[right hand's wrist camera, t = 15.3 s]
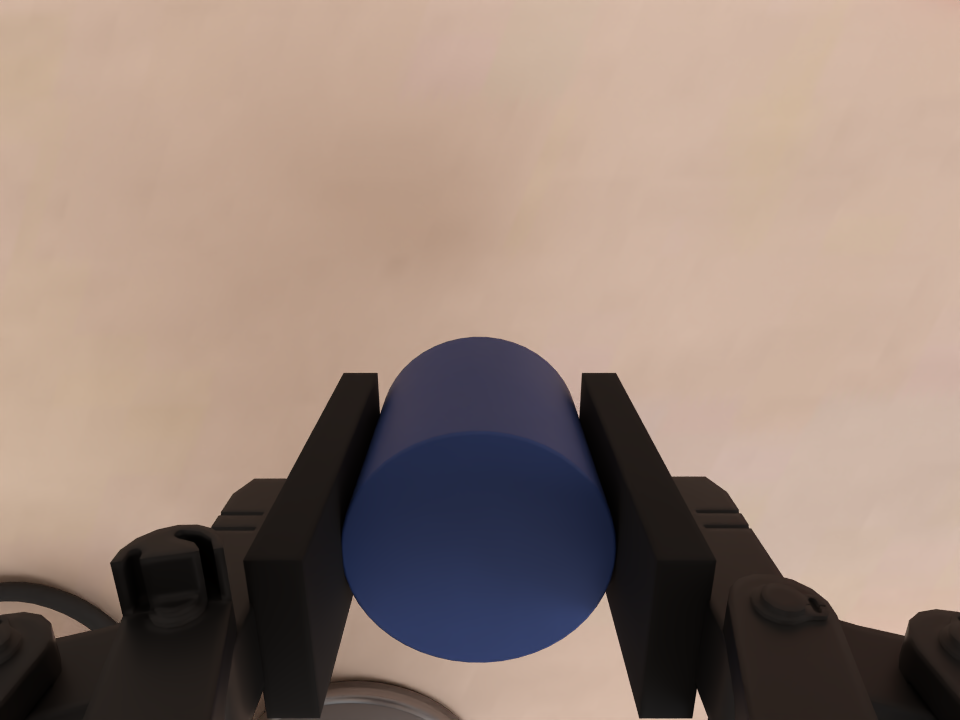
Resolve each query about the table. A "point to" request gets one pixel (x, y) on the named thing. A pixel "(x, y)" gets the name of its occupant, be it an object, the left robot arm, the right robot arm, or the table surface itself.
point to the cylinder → (478, 507)
